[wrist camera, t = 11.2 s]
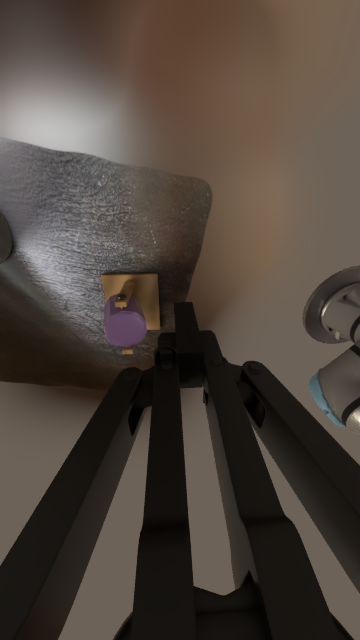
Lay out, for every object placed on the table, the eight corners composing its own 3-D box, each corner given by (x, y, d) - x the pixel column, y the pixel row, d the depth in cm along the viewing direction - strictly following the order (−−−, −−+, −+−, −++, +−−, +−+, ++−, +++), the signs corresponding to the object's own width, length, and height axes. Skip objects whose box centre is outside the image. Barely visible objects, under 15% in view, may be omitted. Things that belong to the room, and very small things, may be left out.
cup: (100, 310, 36) (101, 291, 43) (109, 352, 40) (108, 328, 48) (144, 305, 38) (138, 288, 45) (148, 345, 42) (141, 323, 50)
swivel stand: (157, 273, 46) (154, 294, 36) (160, 327, 53) (158, 358, 43) (102, 273, 46) (83, 295, 35) (112, 328, 52) (98, 360, 42)
